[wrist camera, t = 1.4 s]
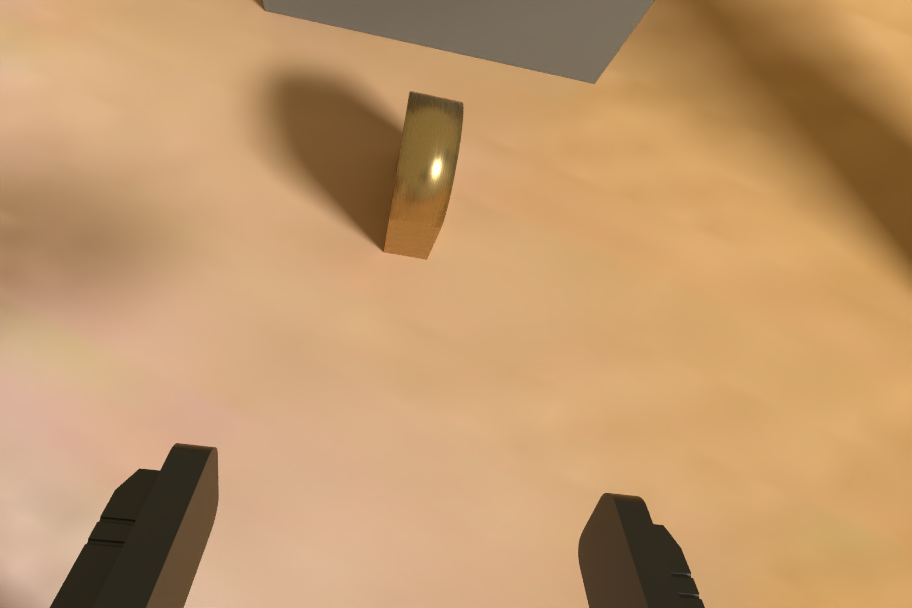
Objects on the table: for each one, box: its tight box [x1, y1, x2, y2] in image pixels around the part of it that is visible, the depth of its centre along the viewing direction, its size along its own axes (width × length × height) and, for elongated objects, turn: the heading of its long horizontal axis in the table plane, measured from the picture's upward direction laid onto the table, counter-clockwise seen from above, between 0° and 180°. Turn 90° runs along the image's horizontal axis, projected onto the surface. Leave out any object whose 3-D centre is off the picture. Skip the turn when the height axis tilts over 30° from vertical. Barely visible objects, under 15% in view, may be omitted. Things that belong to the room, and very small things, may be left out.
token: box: [384, 91, 463, 259], centre depth 28 cm, size 2×6×8 cm, turn 172°
